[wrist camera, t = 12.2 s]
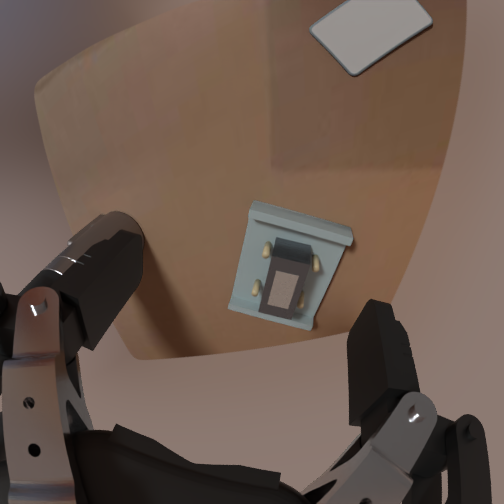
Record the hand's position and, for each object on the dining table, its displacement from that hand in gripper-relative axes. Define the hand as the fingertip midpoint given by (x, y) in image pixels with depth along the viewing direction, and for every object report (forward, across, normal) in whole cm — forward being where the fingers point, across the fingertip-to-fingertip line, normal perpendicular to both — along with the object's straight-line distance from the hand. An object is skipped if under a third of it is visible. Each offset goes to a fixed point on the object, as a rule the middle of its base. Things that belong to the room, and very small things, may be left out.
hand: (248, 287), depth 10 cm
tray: (+30, -4, +19) cm, 36 cm away
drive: (+29, -4, +19) cm, 35 cm away
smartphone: (+31, -6, -18) cm, 36 cm away
